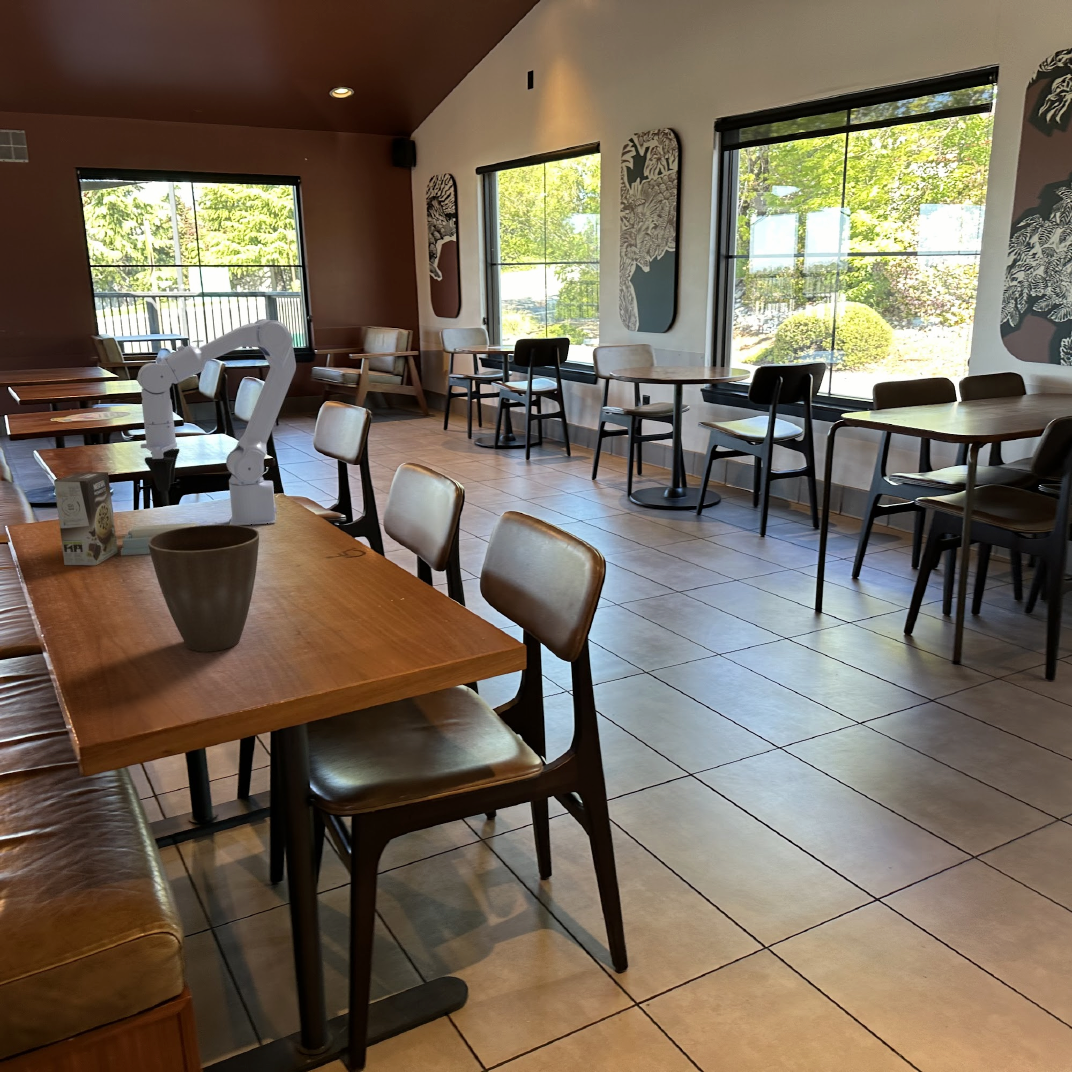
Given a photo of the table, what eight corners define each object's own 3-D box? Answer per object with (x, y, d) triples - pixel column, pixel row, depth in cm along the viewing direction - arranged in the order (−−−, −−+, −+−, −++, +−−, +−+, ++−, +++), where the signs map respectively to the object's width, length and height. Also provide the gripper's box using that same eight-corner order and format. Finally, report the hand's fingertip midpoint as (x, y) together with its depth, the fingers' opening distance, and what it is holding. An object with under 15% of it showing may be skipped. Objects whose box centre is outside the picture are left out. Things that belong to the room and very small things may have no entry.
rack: (211, 538, 196) (210, 525, 195) (208, 549, 187) (206, 535, 187) (128, 543, 192) (127, 530, 191) (121, 555, 184) (119, 541, 183)
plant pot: (230, 618, 149) (220, 518, 145) (288, 639, 140) (280, 534, 136) (139, 645, 138) (127, 539, 134) (196, 670, 129) (185, 557, 125)
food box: (97, 565, 177) (86, 480, 173) (63, 565, 177) (51, 480, 173) (119, 552, 186) (109, 471, 182) (86, 552, 186) (76, 471, 182)
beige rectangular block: (198, 537, 192) (197, 522, 191) (197, 541, 189) (195, 526, 189) (135, 542, 189) (133, 526, 189) (132, 545, 187) (130, 530, 186)
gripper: (143, 418, 202) (150, 481, 206) (132, 428, 189) (140, 495, 192) (178, 417, 204) (184, 479, 207) (170, 426, 190) (177, 493, 194)
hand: (165, 487), depth 200 cm, fingers open, 7 cm apart
